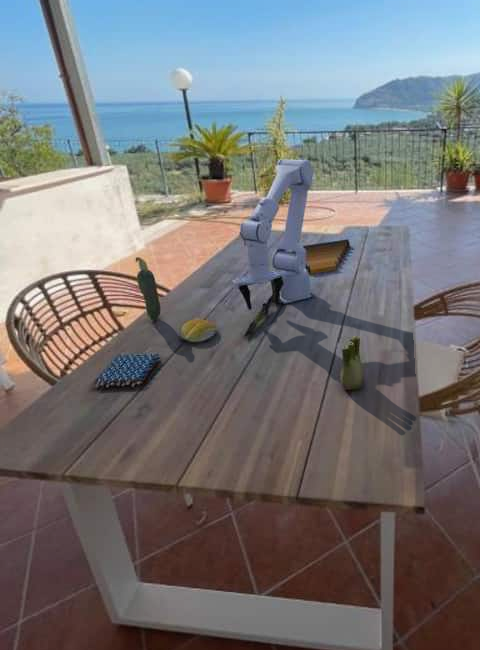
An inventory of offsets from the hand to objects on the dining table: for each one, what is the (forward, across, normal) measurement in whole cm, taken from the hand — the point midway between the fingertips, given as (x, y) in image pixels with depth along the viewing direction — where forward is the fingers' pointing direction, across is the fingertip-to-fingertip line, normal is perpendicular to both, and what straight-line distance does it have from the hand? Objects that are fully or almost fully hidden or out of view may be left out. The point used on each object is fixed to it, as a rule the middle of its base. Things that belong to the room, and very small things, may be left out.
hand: (262, 305), depth 113 cm
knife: (+4, 0, 0) cm, 5 cm away
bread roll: (+4, -18, 0) cm, 18 cm away
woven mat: (+5, -35, -9) cm, 36 cm away
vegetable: (+4, -28, +14) cm, 32 cm away
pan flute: (+4, +38, +33) cm, 51 cm away
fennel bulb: (+4, +8, -39) cm, 40 cm away
